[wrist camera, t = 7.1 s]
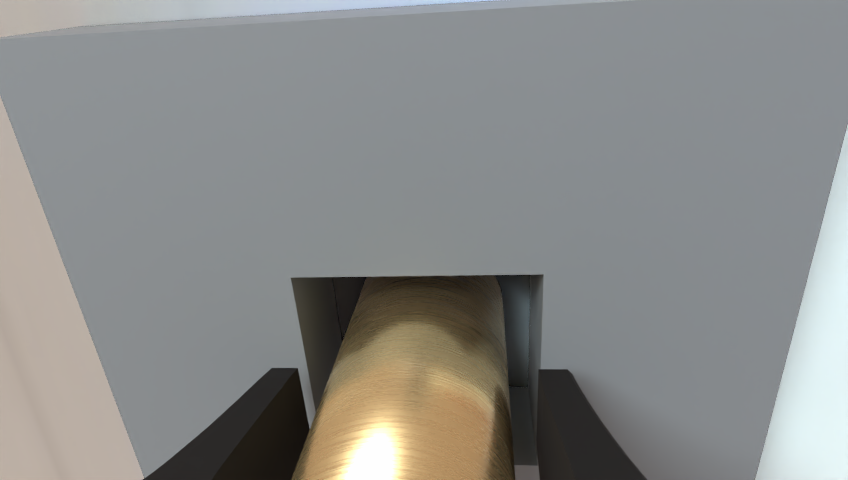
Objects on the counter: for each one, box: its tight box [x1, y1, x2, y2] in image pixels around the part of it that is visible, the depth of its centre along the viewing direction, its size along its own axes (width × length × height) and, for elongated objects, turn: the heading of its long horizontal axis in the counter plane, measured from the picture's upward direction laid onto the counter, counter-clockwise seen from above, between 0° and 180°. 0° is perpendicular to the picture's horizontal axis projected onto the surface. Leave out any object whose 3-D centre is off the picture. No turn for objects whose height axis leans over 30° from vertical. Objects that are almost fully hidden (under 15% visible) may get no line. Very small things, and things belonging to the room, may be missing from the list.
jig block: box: [0, 0, 848, 480], centre depth 15 cm, size 16×16×3 cm
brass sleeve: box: [291, 275, 515, 480], centre depth 12 cm, size 4×4×8 cm
